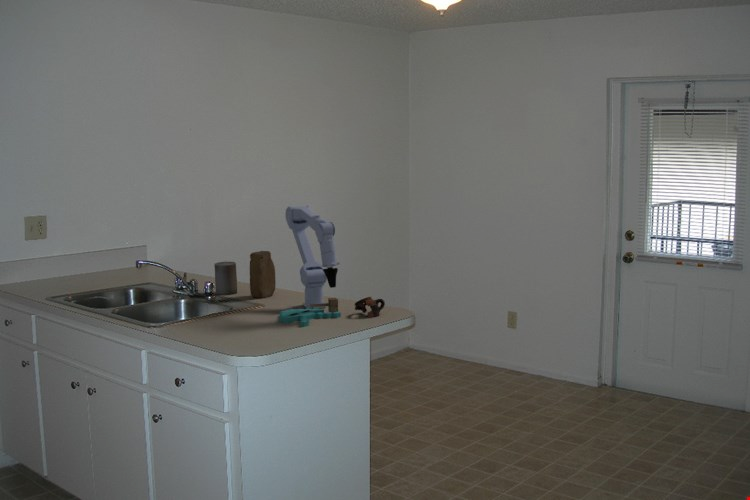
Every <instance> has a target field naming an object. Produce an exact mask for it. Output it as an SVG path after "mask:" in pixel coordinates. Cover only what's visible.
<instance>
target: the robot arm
mask: <svg viewBox="0 0 750 500" xmlns="http://www.w3.org/2000/svg"><path fill="white" fill-rule="evenodd" d="M285 220H286V224H287V225H288V228H289V229H290V230H291V231H292V233H293V237H294V240H295V243H296V246H297V249H298V251H299V255H300V258H301V260H302V263H303V265H302V266H301V267H300V269H299V276H300V277H299V278H300V282H301V284H302V285H303V286H304V302H303V303H302V305H303V306H304V307H305V309H307V308H309V309H312V308H311V307H310V304H320V303H324V286H325V283H326V282H327V283H328V286H329V288H330V289H333V288H336V287H337V275H338V274H337V273H338V270H339V269H338V268H337V267H335V266H338V265H340V264H341V262H337V255H336V253H337V252H336V248H335V240H334V236H335V234H336V227H335V224H334V223H333V222H332V221H329V222H327V221H326V220H325V219H323V218H322V217H321V216H320V215H319V214H313V212H312V209H311V207H310V206H309V205H300V206H299V205H298V206H287V207H286V208H285ZM308 228H311V229H312V230H313V232H314V233H315V236H316V238H317V242H318V243H319V250H320V258H321V263H319V262H318V261H316V259H315V258H316V257H315V256H314V252H313V249H312V247H311V245H310V244H311V243H310V241H309V239H308V234H307V232H306V230H307V229H308ZM314 308H318V309H323V308H326V307H313V309H314Z"/></svg>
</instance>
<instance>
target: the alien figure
mask: <svg viewBox="0 0 750 500" xmlns="http://www.w3.org/2000/svg"><path fill="white" fill-rule="evenodd" d="M341 317H342V313H341V312H339V311H338V312H334V313H331V312H329V311H327V312H325V309H323V308H313V309H309V308H305V309H304V308H297V309H295V308H291V309H286V310H282V311H279V318H278V319H279V323H284V324H291V323H294V322H298V321H299V325H300V327H303V328H304V327H309V325H310V323H309V321H310V320H313V319H331V318H335V319H338V318H341Z"/></svg>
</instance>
